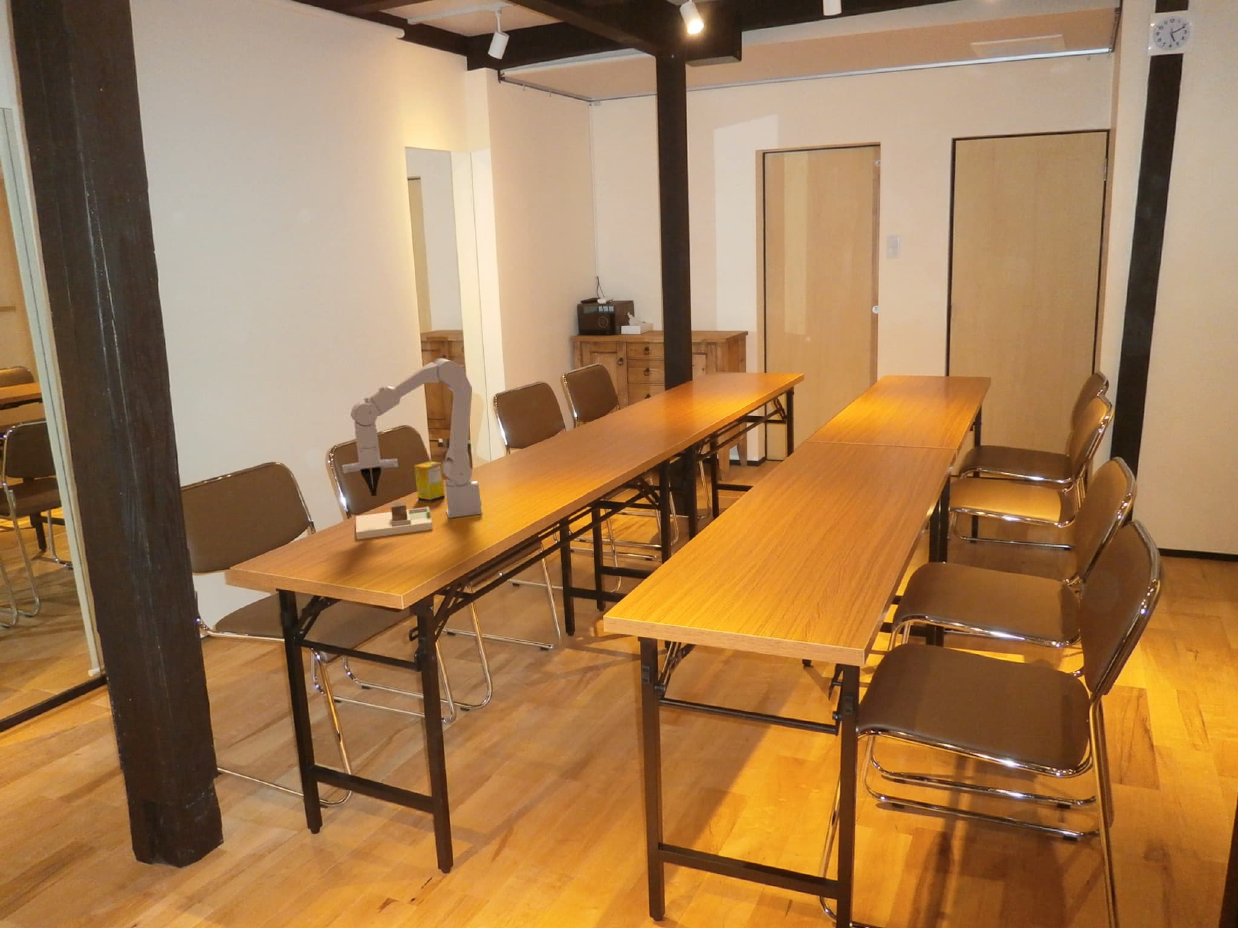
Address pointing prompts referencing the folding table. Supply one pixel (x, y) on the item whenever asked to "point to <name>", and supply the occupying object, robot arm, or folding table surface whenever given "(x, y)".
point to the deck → (392, 523)
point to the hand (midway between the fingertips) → (373, 495)
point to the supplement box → (429, 481)
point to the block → (399, 511)
